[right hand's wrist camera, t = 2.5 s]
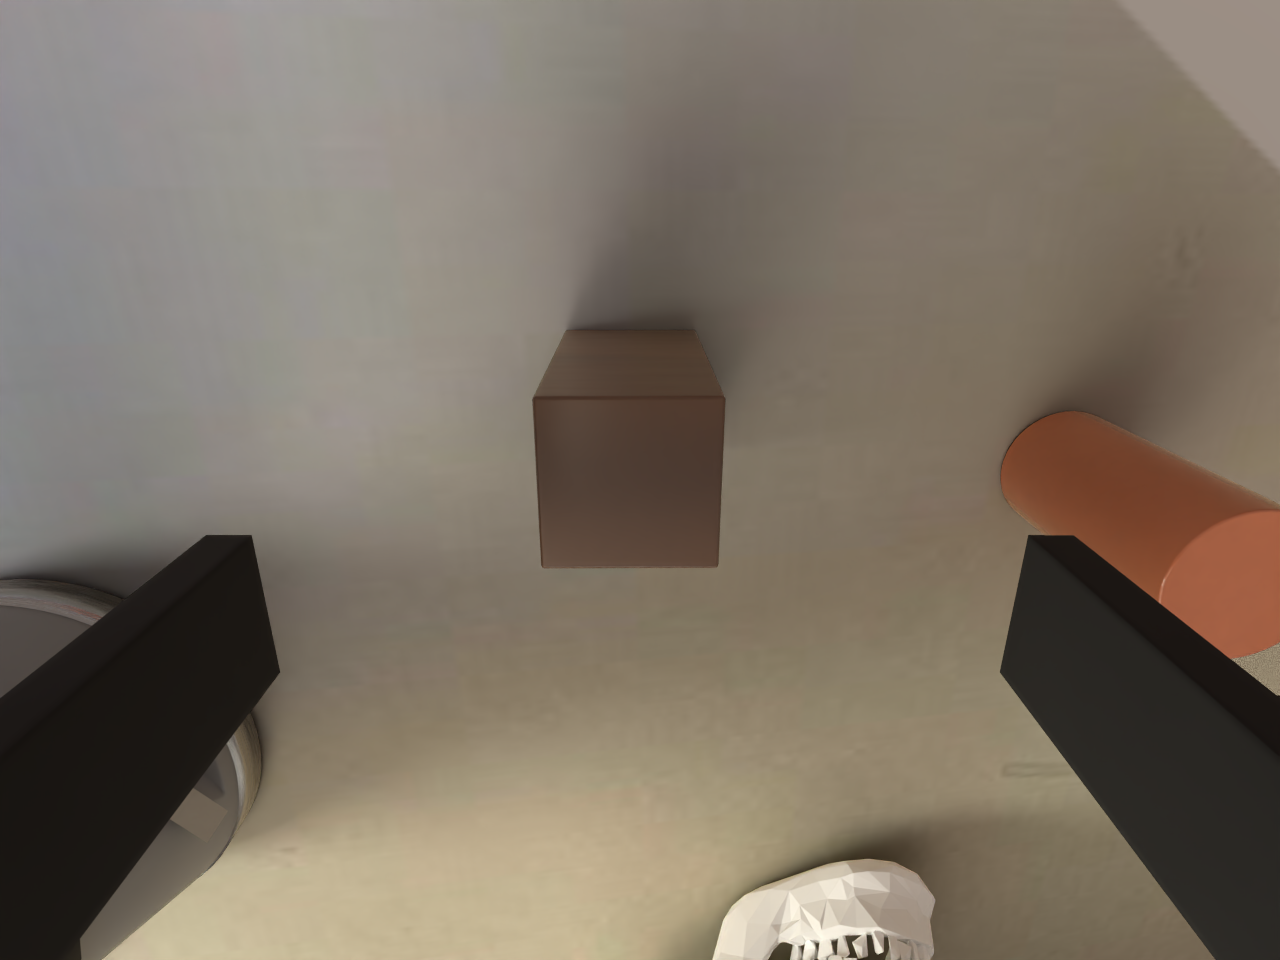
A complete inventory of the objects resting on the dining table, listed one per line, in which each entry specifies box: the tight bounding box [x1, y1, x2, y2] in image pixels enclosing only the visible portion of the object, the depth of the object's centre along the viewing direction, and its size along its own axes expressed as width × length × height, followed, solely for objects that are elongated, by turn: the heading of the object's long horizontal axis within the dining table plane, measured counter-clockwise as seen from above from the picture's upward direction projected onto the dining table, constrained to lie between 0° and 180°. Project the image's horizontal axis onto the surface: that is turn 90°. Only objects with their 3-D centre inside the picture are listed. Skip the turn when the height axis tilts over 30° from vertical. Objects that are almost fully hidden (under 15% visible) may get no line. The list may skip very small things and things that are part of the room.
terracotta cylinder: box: [1001, 411, 1280, 659], centre depth 23 cm, size 4×4×9 cm
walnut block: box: [532, 330, 725, 568], centre depth 22 cm, size 4×4×9 cm
